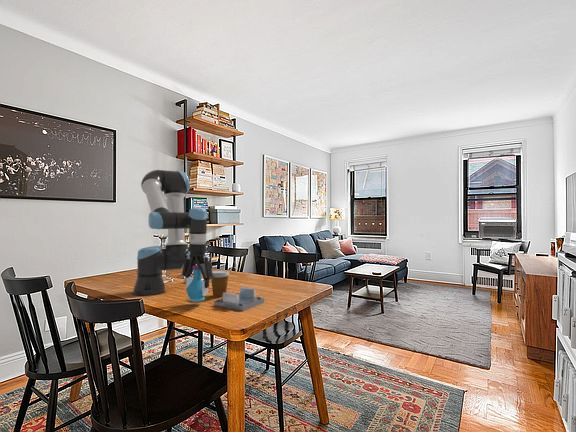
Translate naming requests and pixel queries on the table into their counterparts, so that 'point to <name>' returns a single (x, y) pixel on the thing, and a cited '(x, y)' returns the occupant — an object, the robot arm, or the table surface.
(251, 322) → the table surface
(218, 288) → the disposable coffee cup
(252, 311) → the table surface
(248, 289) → the base
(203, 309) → the table surface
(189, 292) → the perfume bottle
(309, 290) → the table surface
